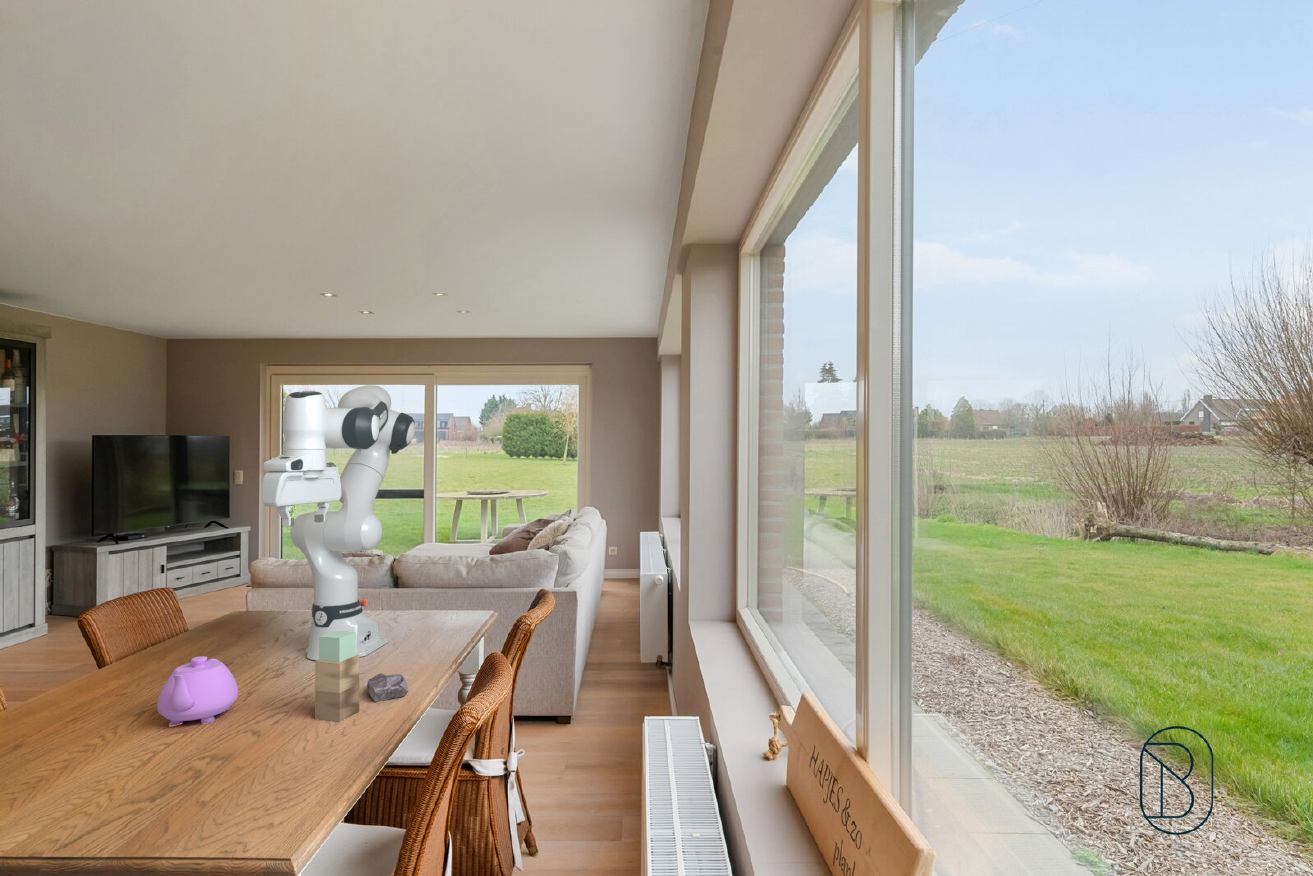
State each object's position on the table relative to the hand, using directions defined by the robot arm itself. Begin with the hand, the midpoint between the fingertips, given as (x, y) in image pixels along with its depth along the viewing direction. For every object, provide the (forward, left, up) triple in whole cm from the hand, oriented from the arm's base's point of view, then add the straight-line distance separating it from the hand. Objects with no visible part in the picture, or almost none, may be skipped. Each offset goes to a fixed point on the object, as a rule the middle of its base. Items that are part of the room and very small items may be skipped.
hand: (304, 524), depth 156 cm
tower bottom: (+6, +14, -39) cm, 42 cm away
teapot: (+15, -13, -39) cm, 44 cm away
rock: (-8, +16, -40) cm, 43 cm away
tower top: (+6, +14, -33) cm, 36 cm away
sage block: (+6, +14, -27) cm, 31 cm away
